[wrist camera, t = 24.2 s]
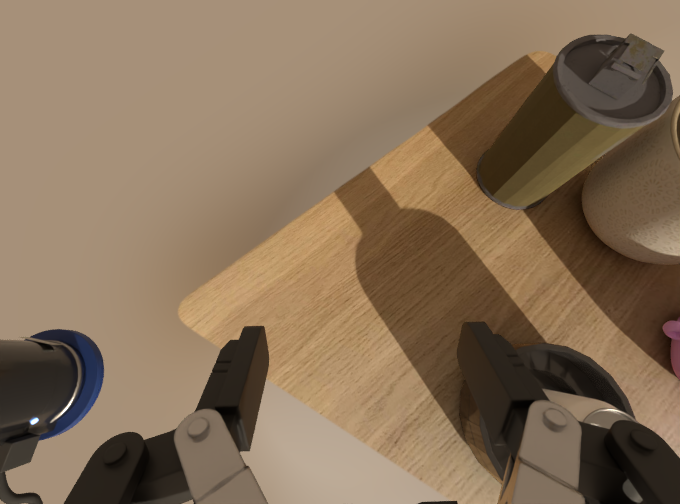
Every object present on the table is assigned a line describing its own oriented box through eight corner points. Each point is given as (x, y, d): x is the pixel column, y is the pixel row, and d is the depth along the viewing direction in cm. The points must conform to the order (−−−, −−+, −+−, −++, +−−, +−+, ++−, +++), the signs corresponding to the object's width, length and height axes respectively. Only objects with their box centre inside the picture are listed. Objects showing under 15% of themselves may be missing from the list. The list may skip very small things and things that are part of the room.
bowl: (597, 503, 34) (650, 534, 28) (454, 478, 34) (477, 504, 29) (586, 355, 38) (630, 356, 32) (460, 335, 39) (481, 333, 33)
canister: (526, 224, 43) (677, 125, 24) (462, 181, 45) (554, 57, 26) (564, 169, 46) (727, 40, 26) (501, 131, 47) (611, -16, 28)
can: (508, 374, 37) (584, 386, 25) (562, 402, 36) (667, 426, 25) (490, 430, 35) (564, 470, 24) (547, 460, 34) (652, 516, 23)
